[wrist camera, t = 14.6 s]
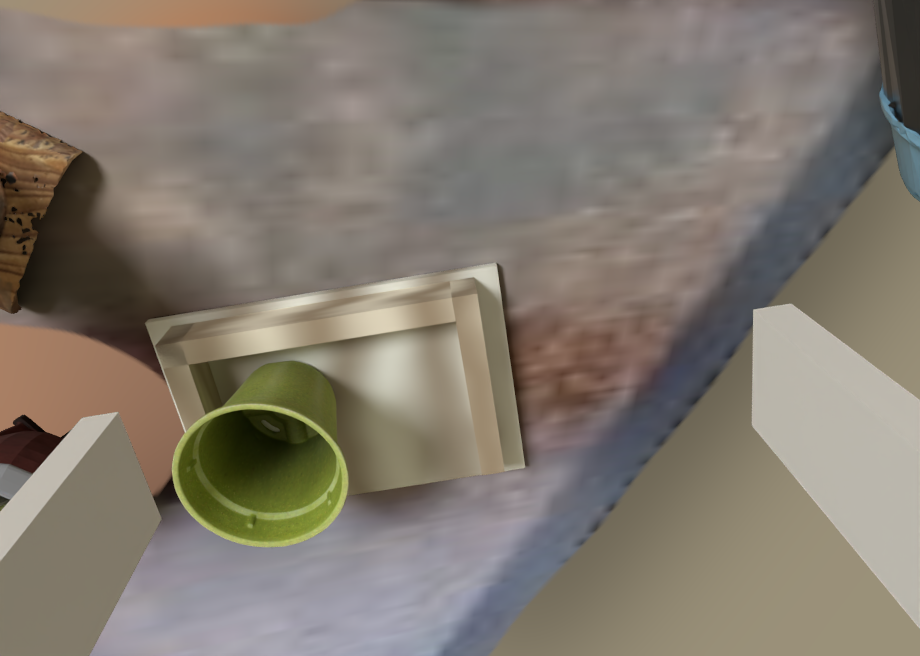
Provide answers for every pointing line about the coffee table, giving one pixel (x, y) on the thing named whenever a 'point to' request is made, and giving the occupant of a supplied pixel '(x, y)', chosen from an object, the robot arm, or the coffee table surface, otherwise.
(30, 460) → the mate gourd
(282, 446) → the plant pot
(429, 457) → the beige rectangular tray
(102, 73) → the coffee table surface
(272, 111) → the coffee table surface
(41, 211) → the bird sculpture
